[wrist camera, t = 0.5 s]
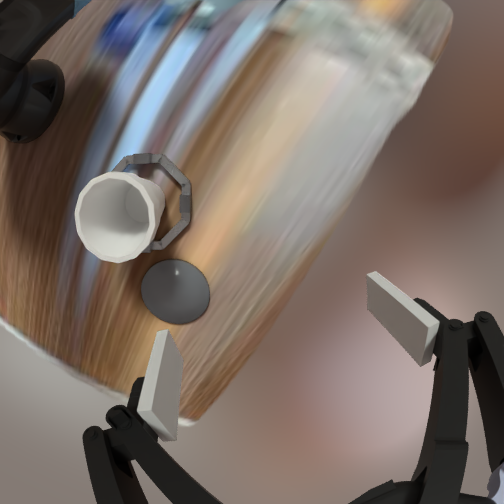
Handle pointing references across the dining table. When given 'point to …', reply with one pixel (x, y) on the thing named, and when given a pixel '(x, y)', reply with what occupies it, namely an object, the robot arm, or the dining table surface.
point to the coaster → (175, 291)
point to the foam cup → (118, 215)
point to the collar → (184, 197)
